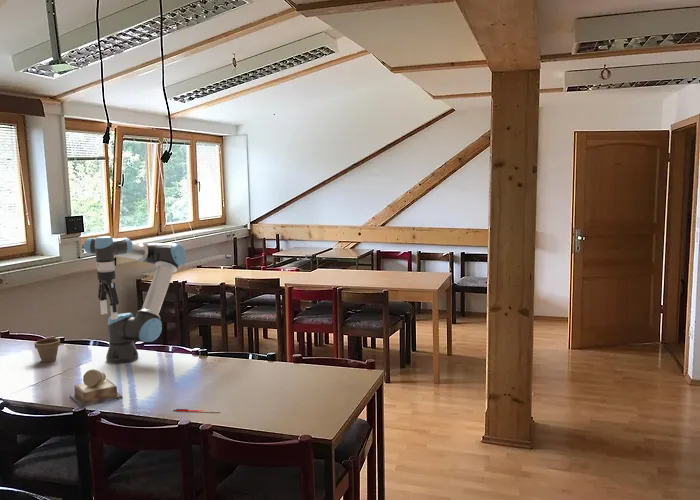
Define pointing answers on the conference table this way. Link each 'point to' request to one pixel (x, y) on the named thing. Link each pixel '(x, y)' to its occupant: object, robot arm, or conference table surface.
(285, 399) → the conference table surface
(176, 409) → the pen
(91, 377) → the beige stepped cylinder
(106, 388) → the plinth
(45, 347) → the flower pot
